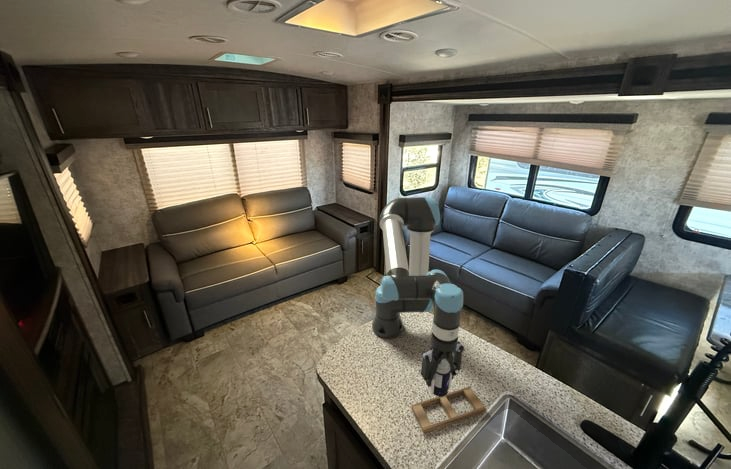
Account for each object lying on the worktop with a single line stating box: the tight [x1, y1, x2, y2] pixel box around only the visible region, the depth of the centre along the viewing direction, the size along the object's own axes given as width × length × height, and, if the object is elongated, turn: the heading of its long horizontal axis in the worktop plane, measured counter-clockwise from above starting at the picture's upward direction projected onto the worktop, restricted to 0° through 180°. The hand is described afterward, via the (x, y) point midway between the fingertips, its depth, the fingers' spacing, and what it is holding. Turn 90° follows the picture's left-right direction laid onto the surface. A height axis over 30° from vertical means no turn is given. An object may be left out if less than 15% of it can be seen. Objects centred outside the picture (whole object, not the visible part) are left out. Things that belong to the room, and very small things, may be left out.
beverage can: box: [433, 359, 451, 397], centre depth 91 cm, size 6×6×12 cm
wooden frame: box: [410, 386, 487, 435], centre depth 99 cm, size 9×24×2 cm, turn 107°
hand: (438, 388), depth 93 cm, fingers closed on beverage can, 6 cm apart
